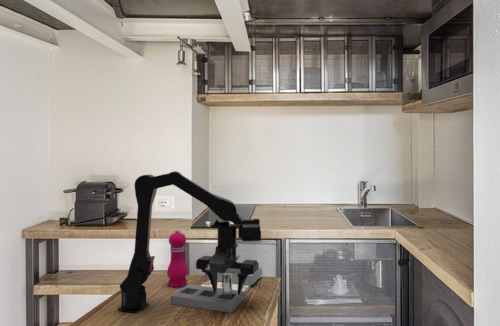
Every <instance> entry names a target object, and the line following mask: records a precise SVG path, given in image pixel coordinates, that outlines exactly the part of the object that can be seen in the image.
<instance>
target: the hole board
mask: <svg viewBox="0 0 500 326" xmlns="http://www.w3.org/2000/svg"><path fill="white" fill-rule="evenodd" d="M244 300H245V292H244V291H241V294H240V295H238V290H232V299H223V298H222V288H217V291H216V292H214V290H213V287H207V286H201V285H197V284H189V283H188V284H186V285H185V286H183V287H181V288H180V289H179V290H177V291H175V292H174V293H173V294H171V295H170V305H174V306H180V307H182V306H183V307H189V308H195V309H203V310H208V311H215V312H222V313H230V314H231V313H232V312H233V311H234V310H235V309H236V308H237V307H238V306H239V305H241V303H242V302H243V301H244Z"/></svg>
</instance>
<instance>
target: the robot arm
mask: <svg viewBox="0 0 500 326" xmlns="http://www.w3.org/2000/svg"><path fill="white" fill-rule="evenodd" d="M169 186H174V187H176V188H178V189H180V190H181V191H183V192H184V193H186V194H188V195H189V196H191V197H192V198H194V199H196V200H197V201H200V203H202V204H204V205H205V206H206V207H208V209H210V210H211V212H212V213H214V214H215V216H217V217H218V218H219V219H220V220H222V221H220V220H219V219H218V218H215V220H214V222H213V223H211V226H210V227H211V228H212V229H217V245H216V246H215V250H214V251H215V252H214V254H213V255H211V256H210V255H203V256H201V257H200V258H198V259H197V260H196V262H195V269H196V270H201V272H202V273H204V274H205V273H206V274H207V275H208V277H209V279H210V282H211V285H212V287H213V290H214V292H216V291H217V272H218V273H225V272H226V270H227V269H228V268H230V269H232V268H234V269H240V273H239V274H237V275H238V295H240V294H241V291H242V288H243V285H244V283H245V280H246V278H247V276H248V275H252V274H254V273H255V272H256V271H257V270H259V267H260V265H259V262H258V261H257V260H254V259H245V260H244V261H243V262H238V260H239V257H238V256H237V248H238V246H239V245H238V243H237V235H238V239H240V240H241V241H242V242H261V241H262V231H261V224H260V223H261V222H260V219H259V218H252V219H251V218H250V219H249V218H248V219H244V218H243V219H242V217H241V216H240V215H239V213H237V207H236V205H235V203H234V202H233V201H232V200H230V199H227V198H225V197H222V196H219V195H217V194H214V193H212V192H210V191H208V190H207V189H206V188H204V187H202V186H201V185H199V184H198V183H196V182H195V181H192V179H191V180H190V179H189V178H188V177H186V176H184V175H183V174H182V173H181V172H179V171H176V170H174V171H171V172H169V173H165V174H159V175H155V176H154V175H153V174H143V175H140V176H138V177H137V178H136V179H135V180H134V192H135V199H136V204H137V211H136V212H137V213H136V214H137V215H136V225H135V228H136V229H135V239H134V241H135V242H134V250H133V251H134V253H133V255H132V258H131V261H130V264H129V267H128V273H127V276H126V277H125V278H124V280H123V281H122V282H121V283H120V284H119V288H120V291H121V293H120V294H121V296H120V298H121V299H120V301H121V303H120V304H121V306H119V307H118V308H117V310H118V311H122V312H128V313H134V314H135V313H138V312H139V311H141V310H143V309H144V308H146V307H148V306H149V302H147V291H146V285H143V284H145V283H146V282H147V280H148V279H149V277H150V276H151V274H152V272H154V270H155V267H154V262H155V257H156V256H154V255H151V254H150V239H151V237H150V236H151V227H152V225H151V224H152V214H153V213H152V211H153V204H154V201H155V198H156V195H157V191H158V189H160V188H165V187H169ZM230 222H231V223H230Z"/></svg>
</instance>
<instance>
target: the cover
mask: <svg viewBox="0 0 500 326" xmlns="http://www.w3.org/2000/svg"><path fill="white" fill-rule="evenodd" d="M225 273H230V274H232V283H238V275H237V274H239V273H240V269H234V268H232V269H230V268H228V269H227V270H226V272H225ZM225 273H218V272H217V281H222V274H225ZM261 276H263V266H259V270H257V271H256V272H255V273H254V274H252V275H248V276H247V278H246V280H245V283H244V284H248V285H251V286H252V285H254V284H255V283H256V282H257V281H258V280H259V279H260V278H261ZM205 280H206V281H208V280H210V279H209V277H208V275H207V274H206V273H205V272H204V281H205Z"/></svg>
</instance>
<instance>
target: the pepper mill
mask: <svg viewBox="0 0 500 326" xmlns="http://www.w3.org/2000/svg"><path fill="white" fill-rule="evenodd" d="M186 242H187V238H186V236H185V234H184V233H183V232H181V229H180V228H179V227H178V228H175V230H174V232H173V233H171V234H170V236H169V237H168V243H169V245H170V247H169V248H170V249H169V250H170V252H171V257H170V262H169V264H168V267H167V271H166V272H167V273H166V275H167V277H168V278H169V279H168V286H169V287H171V288H183V287H185V286H186V285H188V284H187V282H188V281H187V278H186V277H187V276H188V273H189V269H188V265H187V263H186V261H185V259H184V252H185V244H186Z"/></svg>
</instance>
